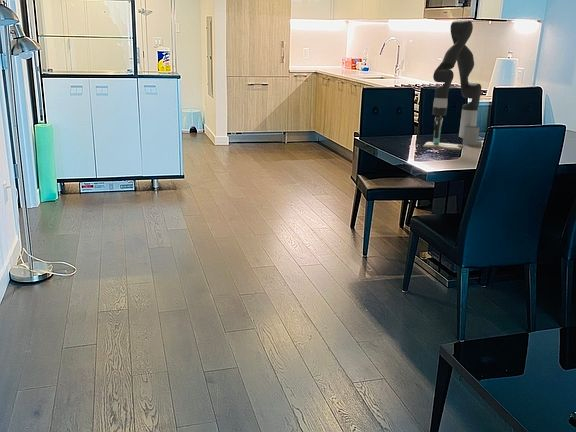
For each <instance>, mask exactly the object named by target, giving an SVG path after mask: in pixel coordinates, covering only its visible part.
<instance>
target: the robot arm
mask: <svg viewBox="0 0 576 432" xmlns="http://www.w3.org/2000/svg"><path fill="white" fill-rule="evenodd" d="M473 28H474V25H473V22H472V21H471V20H468V19H466V20H454V21H452V22H451V23H450V28H449V29H450V35H451V39H452V42H453V45H451V46H450V47H449V48H448V49H447V51H445V54H444V57H443V59H442V61H441V63H439V65H438V66H437V67H436V69H435V70H434V73H433V76H432V77H433V80H434V82H436V83H443V85H441V86H437V87H436V88H435V91H434V99H433V105H432V113H431V115H433V116H435V118H434V123H433V125H434V126H433V127H434V129H433V132H434V131H435V135H434V134H433V139H434V138H438V137H439V132H438V131H440V130H439V129H440V127H441V128H442V125H443V124H442V125H441V122H442V123H443V121H444V118H443V116H444V117H445V116H446V115H447V111H448V98H449V91H450V87H451V84H452V82H453V79H454V76H455V75H454V74H455V73H454V71H453V69H454V67H455V65H456V62H457V68H458V73H459V80H460V91H461V96H462V98H464V99H471V100H470V102H468V103H465V104H463V105H462V108H461V115H460V116H461V117H460V124H459V125H460V126H459V132H458V138H459V137H460V138H459V139H463V135H464V127H465V126H477V117H478V110H479V106H480V99H481V95H482V84H481V83H477V82H469V76H470V74H471V73H472V71H473V69H474V67H475V60H474V59H475V58H474V55H473V54H474V53H473V52H472V51H471V49H469V48H468V46H467V45H466V44H467V42H468V41H469V39H470V38H471V35H472V33H473ZM436 127H438V128H436Z"/></svg>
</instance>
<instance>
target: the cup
mask: <svg viewBox="0 0 576 432" xmlns="http://www.w3.org/2000/svg"><path fill="white" fill-rule="evenodd" d="M479 136H480V126H477V125H476V126H465V127H464V135H463V138H462V145H465V144H466V146H478V144H479V142H478V141H479Z"/></svg>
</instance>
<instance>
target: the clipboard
mask: <svg viewBox="0 0 576 432" xmlns="http://www.w3.org/2000/svg"><path fill="white" fill-rule="evenodd" d="M424 143H425V144H424V145H422V147H423V148H429V149H431V148H432V149H441V150H442V149H443V150H453V151H461V150H462V149H463V146H464V144H461V143H460V144H459V143H449V142H439V145H434V143H433V141H426V142H424Z"/></svg>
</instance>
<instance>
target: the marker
mask: <svg viewBox="0 0 576 432" xmlns="http://www.w3.org/2000/svg"><path fill="white" fill-rule="evenodd" d="M441 125H443V121H442V122H441ZM436 128H438V127H436ZM439 130H440V131H438V132H439V137H438V138H434V137H433V139H432V142H433V143H434V145H439V143H440V140H441V131H442V126H441V127H440V129H439ZM434 135H435V131H434V130H433V136H434Z"/></svg>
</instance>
